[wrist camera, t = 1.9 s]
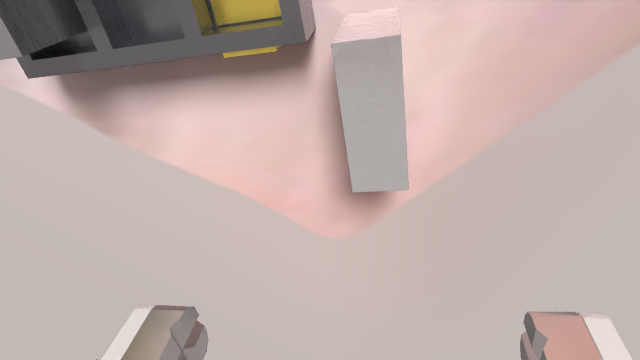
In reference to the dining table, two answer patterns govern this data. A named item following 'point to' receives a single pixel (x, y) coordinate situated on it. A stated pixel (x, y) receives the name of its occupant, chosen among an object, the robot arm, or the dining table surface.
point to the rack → (144, 31)
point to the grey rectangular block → (372, 99)
